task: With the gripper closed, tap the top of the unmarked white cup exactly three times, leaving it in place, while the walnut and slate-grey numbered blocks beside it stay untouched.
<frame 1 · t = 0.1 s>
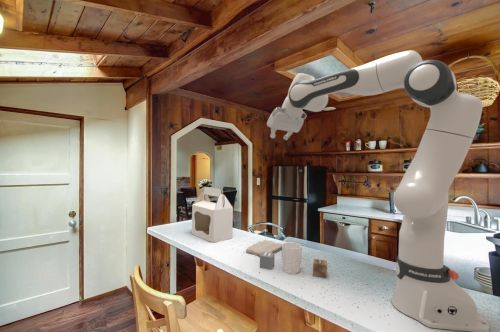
hand: (278, 138, 113), 54 cm above the breakfast bar, tool tilted 30°, fingers open, 8 cm apart
walnut block: (319, 274, 95), on the breakfast bar
gable box: (211, 236, 141), on the breakfast bar
white cup: (291, 270, 98), on the breakfast bar
washcloth: (265, 251, 120), on the breakfast bar
slate-grey block: (267, 266, 101), on the breakfast bar
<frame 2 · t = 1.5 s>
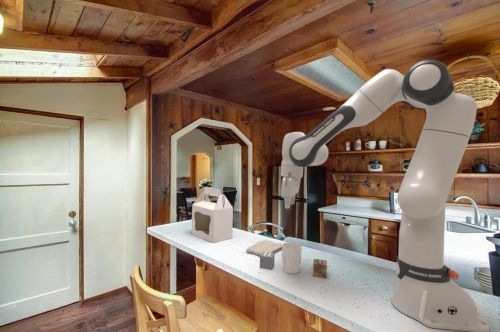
hand: (289, 206, 100), 25 cm above the breakfast bar, tool pointing down, fingers open, 8 cm apart
nothing on the breakfast bar moved.
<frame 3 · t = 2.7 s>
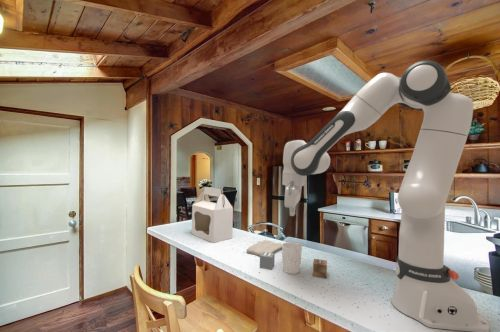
hand: (292, 215, 98), 22 cm above the breakfast bar, tool pointing down, fingers closed
nothing on the breakfast bar moved.
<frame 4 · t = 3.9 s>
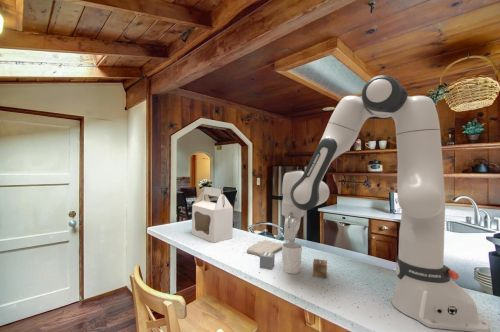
hand: (291, 245, 98), 10 cm above the breakfast bar, tool pointing down, fingers closed, pressing on white cup
white cup: (291, 270, 98), on the breakfast bar, touching gripper
everything else where it was.
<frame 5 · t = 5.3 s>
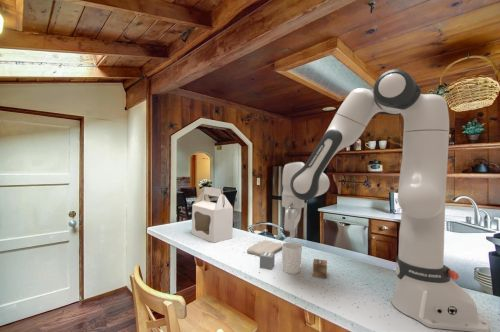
hand: (292, 236, 98), 13 cm above the breakfast bar, tool pointing down, fingers closed
white cup: (291, 270, 98), on the breakfast bar
everything else where it was.
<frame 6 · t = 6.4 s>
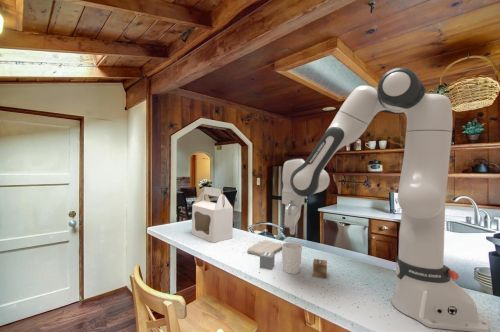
hand: (292, 233, 98), 15 cm above the breakfast bar, tool pointing down, fingers closed
nothing on the breakfast bar moved.
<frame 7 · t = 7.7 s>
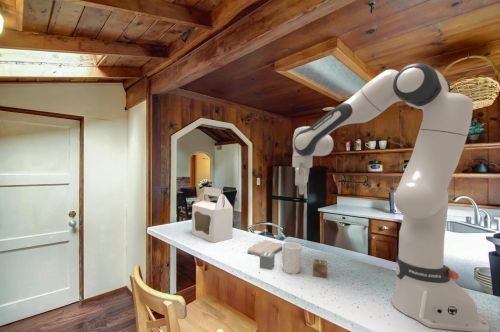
hand: (301, 194, 110), 29 cm above the breakfast bar, tool pointing down, fingers closed
nothing on the breakfast bar moved.
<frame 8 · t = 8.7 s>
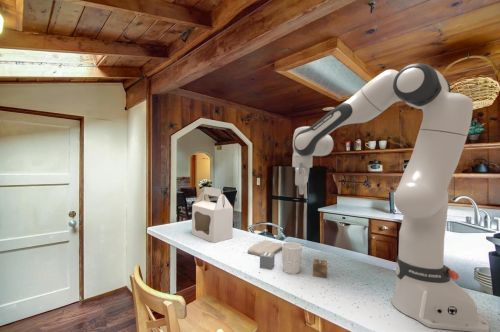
hand: (301, 194, 110), 29 cm above the breakfast bar, tool pointing down, fingers closed
nothing on the breakfast bar moved.
at the end: white cup moved 0.2 cm from its start; white cup tilted 0°; slate-grey block moved 0.1 cm from its start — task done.
